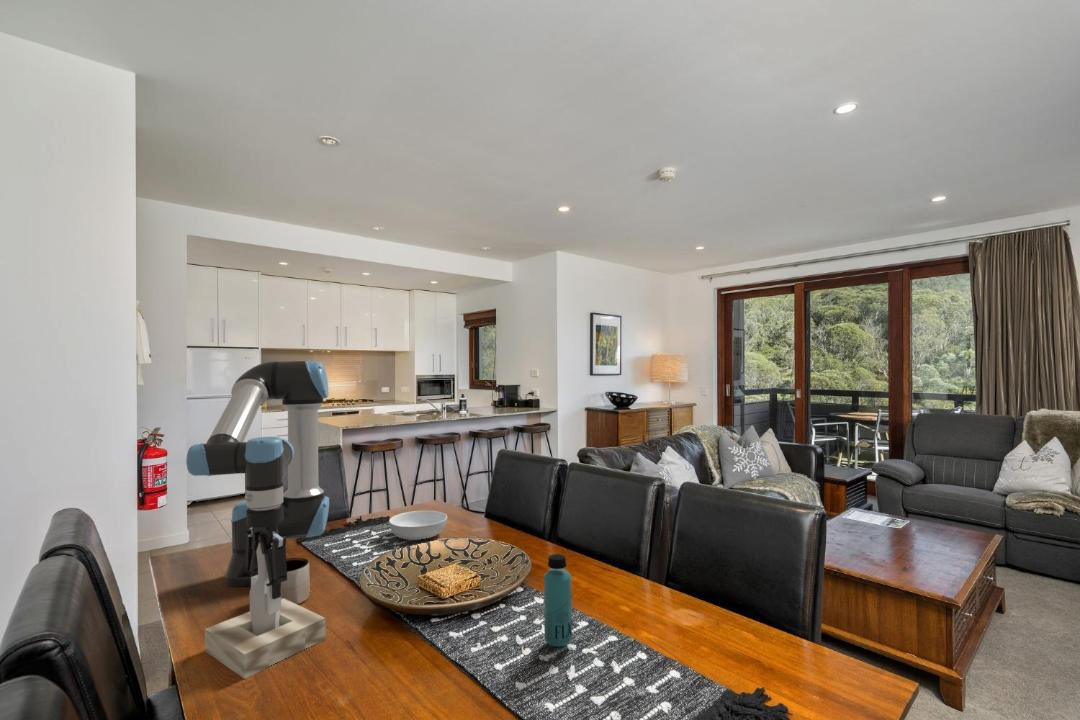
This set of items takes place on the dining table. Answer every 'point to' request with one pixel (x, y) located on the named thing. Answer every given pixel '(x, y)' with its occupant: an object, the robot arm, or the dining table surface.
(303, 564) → the planter
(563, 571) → the beverage bottle
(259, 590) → the low poly bottle
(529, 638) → the dining table surface
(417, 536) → the serving bowl
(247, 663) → the socket block
